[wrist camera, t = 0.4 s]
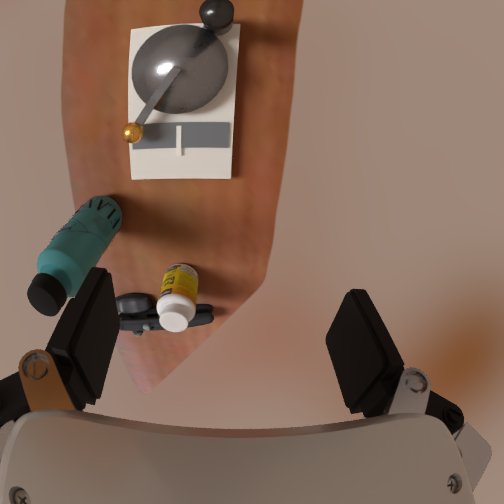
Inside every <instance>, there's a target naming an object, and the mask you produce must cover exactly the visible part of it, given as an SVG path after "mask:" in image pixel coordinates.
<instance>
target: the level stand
mask: <svg viewBox="0 0 504 504" xmlns="http://www.w3.org/2000/svg"><path fill="white" fill-rule="evenodd" d="M177 25H183V24H177ZM187 25H195V26H199V27H203V26H204V25H203V23H199V24H187ZM170 26H174V25H164V26H154V27H146V28H138V29H132V30H131V39H130V54H129V79H128V120H129V123H130V122H135V121H136V119H137V117H138V116H139V114H140V113H141V111H142V110H143V108H144V107H145V105H146V104H145V103H144V102H143V101H142V100H141V99H140V97H139V96H138V94H137V93H136V91H135V89H134V86H133V82H132V65H133V61H134V58H135V55H136V53H137V51H138V50H139V48H140V47H141V45H142V44H143V43H144V42H145V41H146V40H147V39H148V38H149V37H150V36H152V35H153V34H154V33H156V32H158V31H160V30H162V29H164V28H167V27H170ZM239 36H240V24H233V25H232V28H231V30H230V31H229V32H227V33H226V34H224V35H219V36H218V37H217V38H218V39H219V40H220V41H221V43H222V44H223V46H224V48H225V50H226V53H227V56H228V74H227V78H226V81H225V84H224V85H223V87H222V89H221V90H220V92H219V93H218V94H217V95H216V97H215V98H214V99H212V100H211V101H210V102H209V103H207V104H206V105H204V106H203V107H201V108H199V109H197V110H194V111H192V112H188V113H182V114H168V113H163V112H160V111H157V110H155V109H153V111H152V112H151V114H150V115H149V117H148V118H147V120H146V121H145V123H144V125H143V126H142V127H143V129H144V134H143V137H142V139H141V140H140V141H138V142H137V143H129V147H130V163H131V176H132V180H134V179H173V178H211V179H231V164H232V144H233V125H234V108H235V92H236V77H237V62H238V49H239Z"/></svg>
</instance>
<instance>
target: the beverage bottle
mask: <svg viewBox="0 0 504 504" xmlns="http://www.w3.org/2000/svg"><path fill="white" fill-rule="evenodd" d="M87 201H88V200H87ZM81 207H82V208H81ZM81 207H80V208H81V209H80V208H79V209H80V210H79V209H78V210H77V211H76V213H75V215H74V216H73V217H72V218H71V220H70V221H69V222H68V223H67V224H65V226H64V227H63V228H62V229H61V230H60V231H58V232H59V233H58V234H57V235H56V236H55V238H53V239H52V241H51V242H50V244H49V245H48V246H47V248H46V249H45V250H44V251H43V252H41V254H40V255H39V257H38V261H37V270H38V274H37V275H36V276H35V277H34V279H33V280H32V283H31V285H30V286H29V288H28V292H27V296H28V299H29V301H30V303H31V305H32V306H33V307H34V308H35V309H36V310H37V311H38V312H40V313H41V314H43V315H46V316H55V315H56V314H58V312H59V311H60V309H61V307H63V305H64V304H65V302H66V300H67V297H75V296H76V294H77V292H78V290H79V289H80V287H81V285H82V283H83V281H84V279H85V278H86V276H87V274H88V272H89V271H90V269H91V268H92V267H95V266H96V264H97V263H98V261H99V259H100V258H101V256H102V254H103V253H104V252H105V250H106V248H107V247H108V245H110V244H111V243H110V242H112V241H113V240H112V239H113V237H114V236H115V234H116V233H117V231H118V230H120V228H121V227H120V226H122V225H121V223H122V212H121V209H120V207H119V205H118V204H117V203H116V202H115V201H114V200H113V199H111V198H109V197H107V196H96V197H95V196H94V198H91V199H90V200H89V201H88V202H87V203H86V204H85V205H82V206H81ZM114 238H115V237H114ZM111 240H112V241H111Z"/></svg>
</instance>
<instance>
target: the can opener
mask: <svg viewBox="0 0 504 504" xmlns="http://www.w3.org/2000/svg"><path fill="white" fill-rule="evenodd" d="M115 299H116V305H117V310H118V312H121V313H120V314H119V320H120V330H126V331H127V330H128V331H132V330H133V331H132V332H133V334H134V335H135V336H141V335H142V333H143V330H144V331H149V330H166V329H164V328H163V327H162V326H161V324H160V322H159V319H160V316H159V314H158V312H157V309H153V308H151V307H152V306H153V304H152V302H151V300H150V298H149V296H148V295H146V294H141V293H131V294H125V295H121V296H118V297H116V298H115ZM212 312H213V308H212V306H210V305H208V304H196V311H195V315H194V317H193V319H192V320H191V321H189V322H188V326H187V327H194V326H199V325H204V324H209V323H211V322H212V321H213V320H214V316H213V314H211V313H212Z"/></svg>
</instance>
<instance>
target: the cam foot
mask: <svg viewBox="0 0 504 504" xmlns="http://www.w3.org/2000/svg"><path fill="white" fill-rule="evenodd" d="M199 14H200V17H201V19H202V22H203V25H204V26H203V27H199V26H195V25H187V24H183V25H174V26H170V27H167V28H164V29H162V30H160V31H158V32H156V33H154V34H153V35H152V36H150V37H149V38H148V39H147V40H146V41H145V42H144V43H143V44H142V45H141V47H140V48H139V50H138V51H137V53H136V55H135V58H134V61H133V65H132V82H133V86H134V89H135V91H136V93H137V94H138V96H139V97H140V99H141V100H142V101H143V102H144V103H145V104H146V105H145V107H144V108H143V110H142V111H141V113H140V114H139V116H138V117H137V119H136V121H135V122H130V123H128V124H126V125H125V127H124V128H123V131H122V136H123V139H124V140H125V141H126V142H128V143H137V142H138V141H140V140H141V139H142V137H143V134H144V129H143V127H142V126H143V125H144V123H145V121H146V120H147V118H148V117H149V115H150V114H151V112H152V111H153V109H155V110H157V111H160V112H163V113H168V114H182V113H188V112H192V111H194V110H197V109H199V108H201V107H203V106H204V105H206V104H207V103H209V102H210V101H211V100H212V99H214V98H215V97H216V95H217V94H218V93H219V92H220V90H221V89H222V87H223V85H224V84H225V81H226V78H227V74H228V56H227V53H226V50H225V48H224V46H223V44H222V43H221V41H220V40H219V39H218V38H217V37H218V36H219V35H224V34H226V33H227V32H229V31H230V30H231V28H232V25H233V16H234V7H233V4H232V3H231V2H230V1H229V0H206V1H205V2H204V3H203V4H202V5H201V7H200V10H199Z"/></svg>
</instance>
